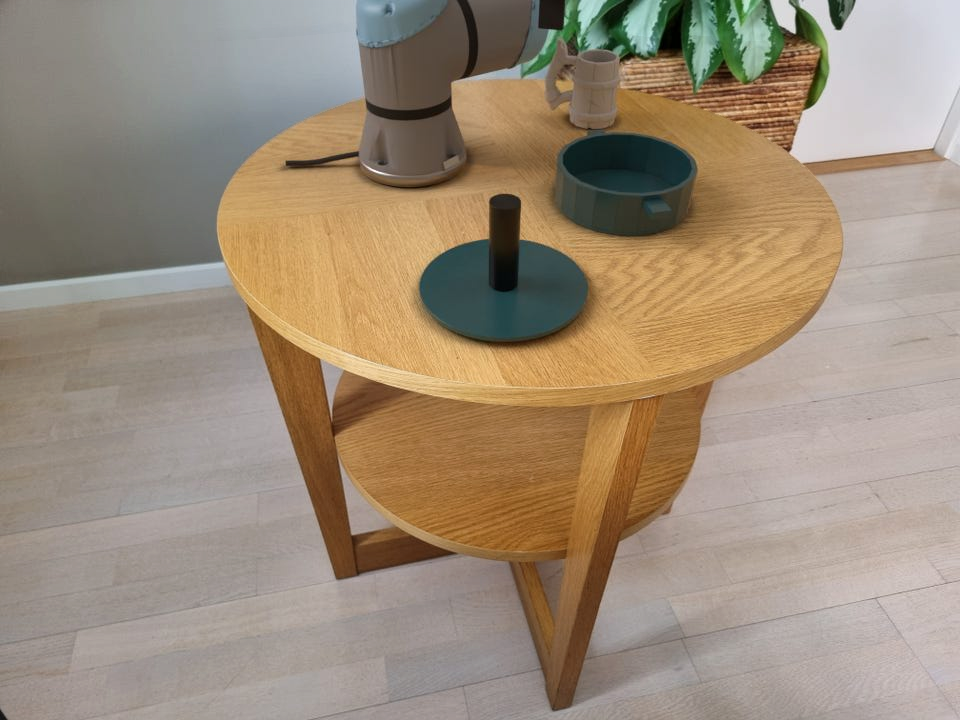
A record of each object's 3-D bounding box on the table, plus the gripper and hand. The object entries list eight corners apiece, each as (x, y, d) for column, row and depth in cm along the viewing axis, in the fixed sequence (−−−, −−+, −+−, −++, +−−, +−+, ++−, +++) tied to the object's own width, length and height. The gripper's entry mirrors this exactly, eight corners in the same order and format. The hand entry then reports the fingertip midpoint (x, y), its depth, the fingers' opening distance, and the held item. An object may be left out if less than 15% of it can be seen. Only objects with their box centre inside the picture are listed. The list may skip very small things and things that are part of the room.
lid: (435, 358, 69) (429, 264, 61) (408, 257, 82) (400, 169, 75) (611, 332, 72) (626, 238, 64) (558, 238, 85) (564, 151, 78)
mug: (614, 132, 107) (624, 51, 99) (538, 125, 110) (542, 45, 101) (618, 112, 113) (628, 34, 105) (546, 106, 115) (550, 29, 107)
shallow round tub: (586, 255, 82) (591, 214, 79) (533, 168, 99) (535, 130, 95) (722, 237, 85) (733, 197, 81) (648, 155, 102) (654, 118, 98)
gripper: (594, -219, 58) (573, 48, 72) (639, -231, 76) (614, -15, 90) (508, -219, 60) (503, 41, 74) (571, -231, 77) (557, -19, 91)
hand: (564, 11), depth 82 cm, fingers open, 13 cm apart
